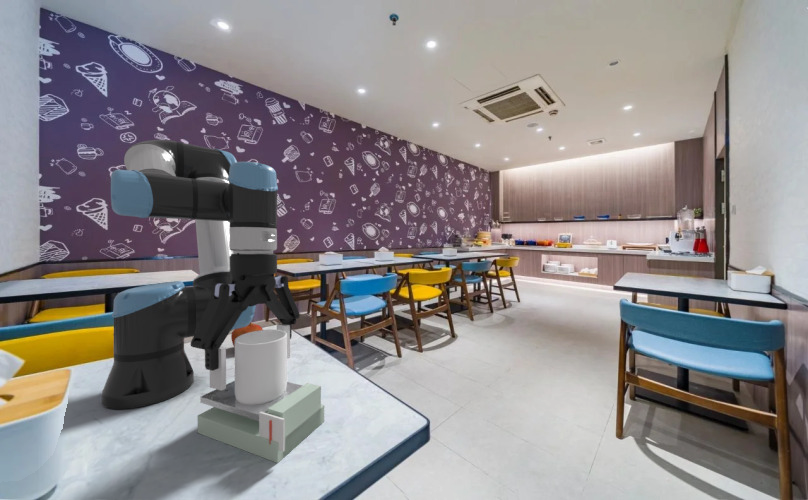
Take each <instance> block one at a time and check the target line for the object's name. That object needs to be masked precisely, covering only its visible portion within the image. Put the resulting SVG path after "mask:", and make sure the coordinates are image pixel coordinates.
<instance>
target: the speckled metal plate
mask: <svg viewBox="0 0 808 500" xmlns="http://www.w3.org/2000/svg"><path fill="white" fill-rule="evenodd" d="M302 386H303V384H297V383H293V382H289V381H287V387H286V390H285V392H284V393H283V394H282V395H281V396H280V397H278V398H276V399H275V400H272V401H270V402H267V403H263V404H257V405H245V404H242V403H240V402H238V401H237V399H236V397H235V380H233V381H231V382H229V383H226V389H224V390H222V391H221V390H218V389H214V390H212V391H209V392H208V393H205V394H203V395H201V396H200V398H199V400H200V404H203V405H207V406H210V407H212V408H213V407H216V408H219V409H222V410H225V411H229V412H232V413H235V414H238V415H241V416H244V417H247V418H251V419H254V420H257V421H259V412H264V413H267V414H268V408H269V407H271V406H273V405H274V404H276V403H277V402H279V401H280V400H282V399H283V398H285V397H287V396H288V395H290V394H291V393H293V392H294V391H296V390H297V389H299V388H301V387H302Z"/></svg>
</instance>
